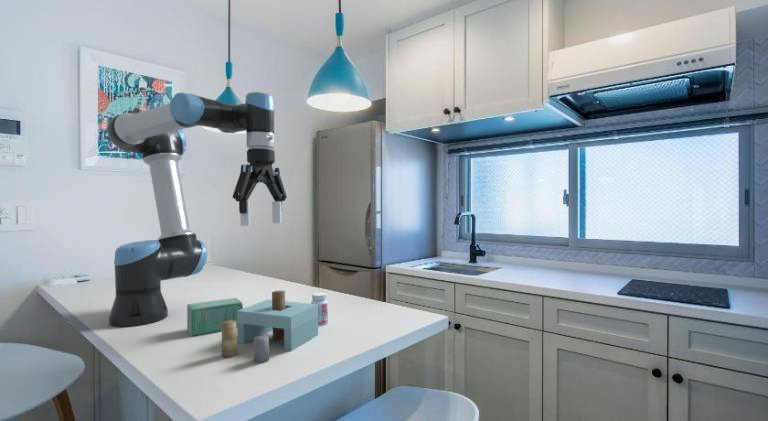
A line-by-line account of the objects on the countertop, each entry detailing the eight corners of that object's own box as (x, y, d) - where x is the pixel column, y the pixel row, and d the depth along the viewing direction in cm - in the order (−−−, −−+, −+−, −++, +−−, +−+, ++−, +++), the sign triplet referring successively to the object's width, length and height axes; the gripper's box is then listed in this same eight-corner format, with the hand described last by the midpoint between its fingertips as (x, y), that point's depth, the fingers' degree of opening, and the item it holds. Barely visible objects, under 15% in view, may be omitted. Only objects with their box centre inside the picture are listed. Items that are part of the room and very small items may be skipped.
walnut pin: (270, 339, 101) (269, 292, 101) (277, 335, 104) (277, 290, 103) (280, 341, 100) (279, 293, 99) (288, 337, 103) (287, 291, 102)
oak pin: (218, 356, 90) (218, 323, 90) (229, 351, 93) (228, 319, 93) (230, 358, 89) (229, 325, 89) (240, 353, 92) (239, 321, 92)
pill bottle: (324, 326, 112) (324, 296, 111) (308, 325, 113) (308, 295, 112) (330, 321, 116) (329, 292, 116) (314, 320, 117) (314, 291, 117)
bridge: (237, 342, 99) (236, 310, 99) (268, 328, 110) (267, 299, 110) (291, 350, 93) (290, 316, 93) (318, 334, 104) (317, 304, 104)
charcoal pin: (250, 362, 87) (250, 339, 87) (260, 356, 90) (260, 334, 90) (262, 364, 86) (262, 341, 86) (272, 358, 89) (271, 336, 88)
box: (244, 327, 112) (243, 300, 111) (191, 337, 104) (190, 309, 104) (237, 321, 118) (236, 296, 117) (186, 330, 110) (185, 303, 110)
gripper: (240, 142, 99) (241, 227, 100) (297, 153, 122) (298, 222, 123) (216, 144, 102) (218, 226, 102) (277, 154, 125) (278, 222, 125)
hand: (262, 224), depth 113 cm, fingers open, 13 cm apart
